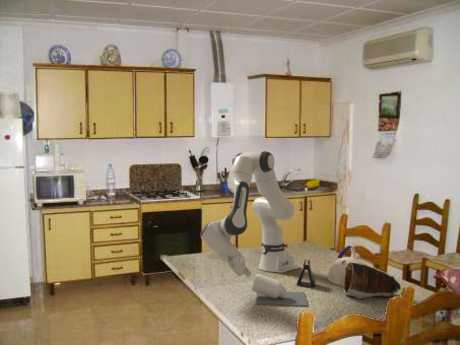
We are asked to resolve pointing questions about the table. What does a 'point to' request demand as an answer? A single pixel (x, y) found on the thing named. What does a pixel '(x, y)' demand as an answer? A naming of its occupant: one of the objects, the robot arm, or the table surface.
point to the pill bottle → (269, 287)
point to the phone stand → (312, 280)
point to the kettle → (342, 266)
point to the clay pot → (368, 282)
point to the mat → (289, 299)
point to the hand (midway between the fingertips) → (249, 275)
